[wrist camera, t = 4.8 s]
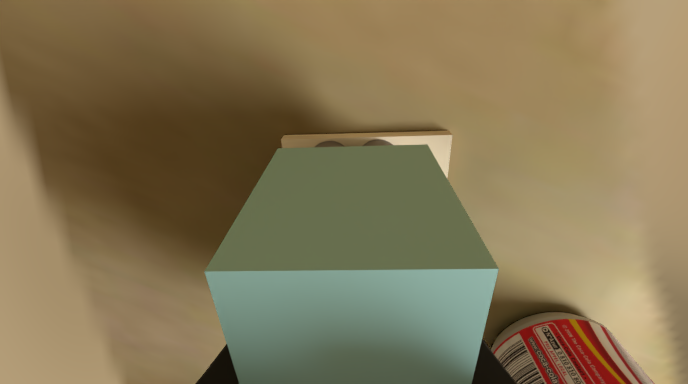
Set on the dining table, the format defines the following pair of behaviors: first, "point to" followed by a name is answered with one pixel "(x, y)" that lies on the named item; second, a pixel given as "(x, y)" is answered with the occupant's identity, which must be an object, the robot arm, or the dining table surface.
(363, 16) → the dining table surface
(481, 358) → the robot arm
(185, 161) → the dining table surface
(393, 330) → the block
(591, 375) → the soda can
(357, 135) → the stand
